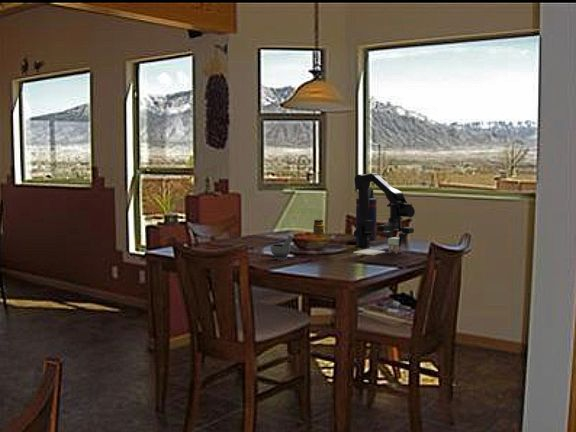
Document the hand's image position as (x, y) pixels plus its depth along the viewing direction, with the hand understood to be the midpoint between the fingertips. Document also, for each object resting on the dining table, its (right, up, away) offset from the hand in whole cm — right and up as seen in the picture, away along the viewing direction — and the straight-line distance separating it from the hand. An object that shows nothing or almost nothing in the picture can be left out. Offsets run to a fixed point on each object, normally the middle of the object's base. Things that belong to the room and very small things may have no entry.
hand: (395, 245), depth 361 cm
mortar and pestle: (-59, -6, -20) cm, 62 cm away
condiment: (-39, +1, +44) cm, 59 cm away
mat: (-13, -4, 0) cm, 14 cm away
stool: (0, -4, 0) cm, 4 cm away
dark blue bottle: (-10, +1, +47) cm, 49 cm away
